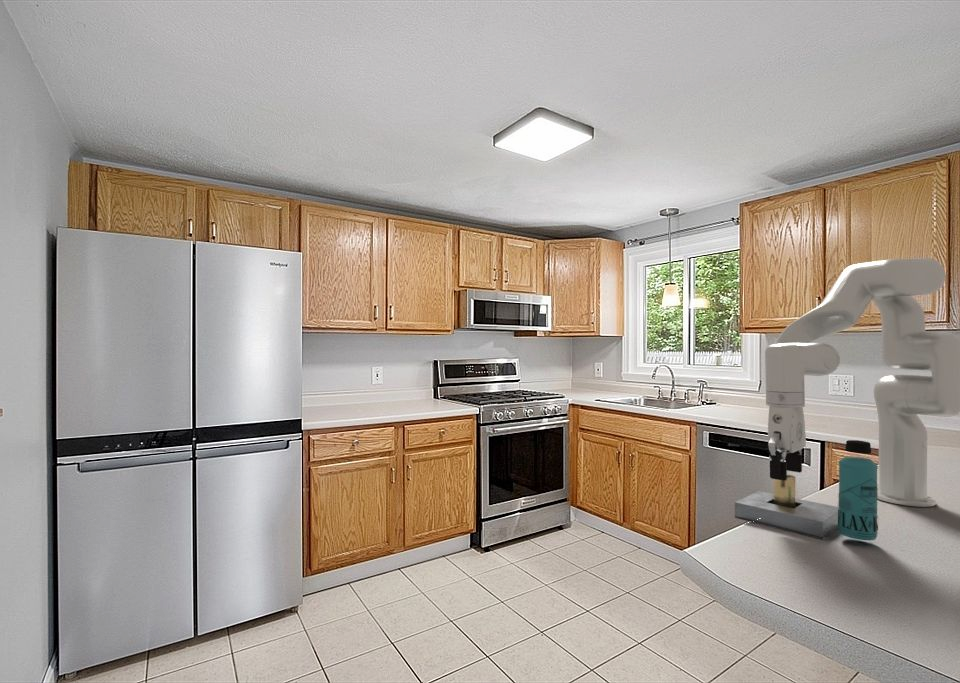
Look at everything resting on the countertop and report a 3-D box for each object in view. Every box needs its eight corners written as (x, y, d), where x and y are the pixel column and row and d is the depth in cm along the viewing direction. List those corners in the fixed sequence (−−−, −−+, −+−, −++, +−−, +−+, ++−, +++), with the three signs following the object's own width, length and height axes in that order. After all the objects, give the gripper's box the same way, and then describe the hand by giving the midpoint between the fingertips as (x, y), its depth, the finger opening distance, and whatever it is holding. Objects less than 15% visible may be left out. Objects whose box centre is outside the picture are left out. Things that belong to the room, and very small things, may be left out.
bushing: (798, 516, 115) (798, 476, 115) (791, 520, 112) (791, 479, 112) (777, 512, 118) (777, 472, 118) (770, 515, 115) (770, 475, 115)
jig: (758, 505, 124) (758, 490, 125) (842, 523, 112) (842, 507, 112) (734, 517, 115) (734, 502, 115) (822, 539, 102) (822, 521, 102)
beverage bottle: (829, 538, 103) (829, 438, 103) (852, 534, 105) (852, 437, 106) (863, 550, 97) (863, 444, 97) (886, 546, 99) (886, 442, 99)
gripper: (790, 403, 107) (791, 486, 107) (816, 397, 118) (817, 471, 118) (751, 401, 112) (753, 479, 112) (780, 394, 124) (781, 465, 124)
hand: (786, 475), depth 115 cm, fingers open, 9 cm apart
